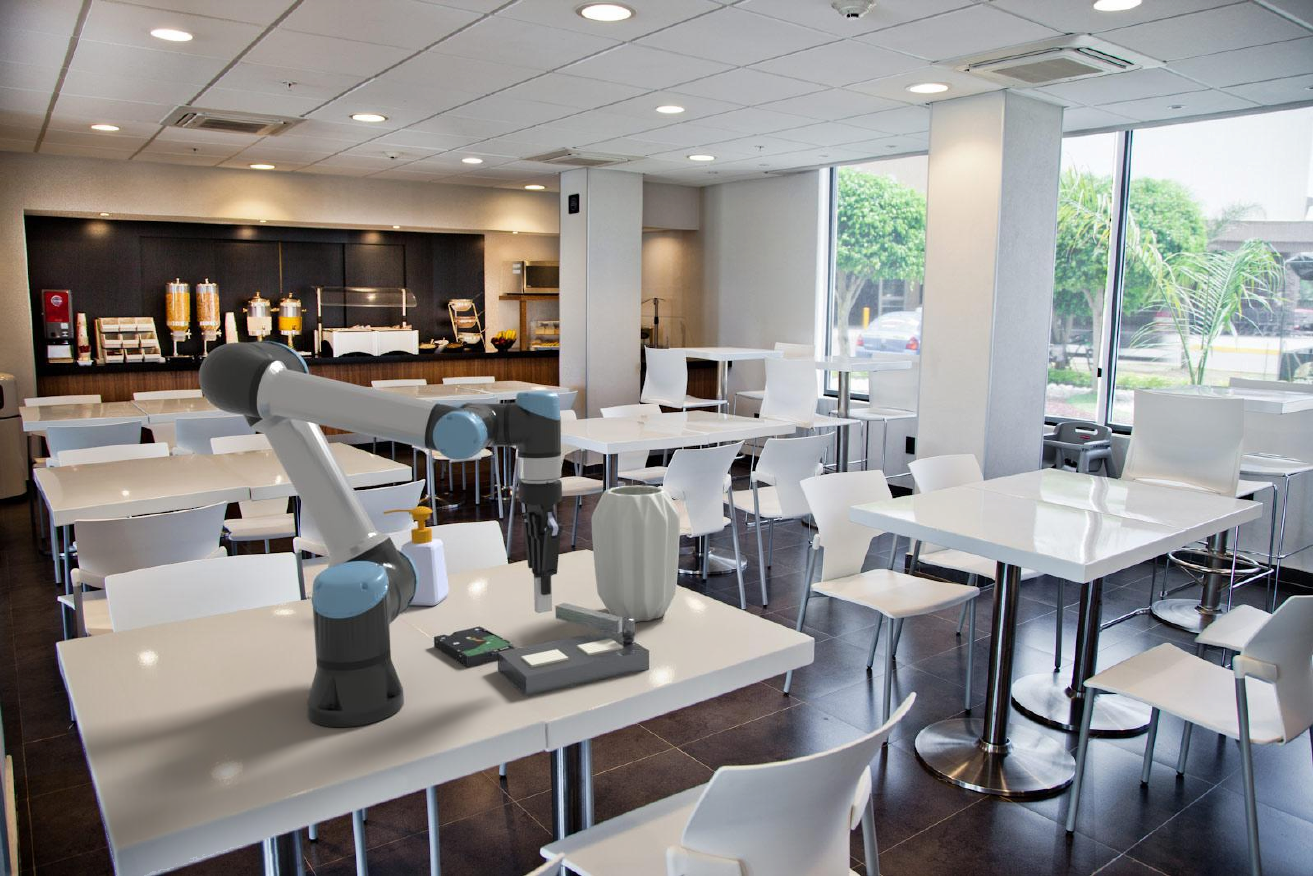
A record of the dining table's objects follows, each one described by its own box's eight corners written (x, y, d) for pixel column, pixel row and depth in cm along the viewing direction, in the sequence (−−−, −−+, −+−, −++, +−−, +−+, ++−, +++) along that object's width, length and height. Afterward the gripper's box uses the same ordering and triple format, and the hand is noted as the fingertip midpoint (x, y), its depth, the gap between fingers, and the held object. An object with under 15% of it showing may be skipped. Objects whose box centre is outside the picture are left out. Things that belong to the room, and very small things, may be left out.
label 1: (531, 667, 159) (531, 665, 159) (521, 658, 163) (521, 656, 163) (568, 659, 162) (568, 657, 162) (557, 651, 166) (557, 649, 166)
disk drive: (432, 650, 180) (468, 670, 168) (432, 636, 179) (467, 656, 168) (480, 638, 186) (517, 657, 175) (479, 625, 186) (516, 643, 174)
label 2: (588, 655, 164) (588, 653, 164) (577, 647, 168) (577, 645, 168) (623, 648, 168) (623, 646, 167) (610, 640, 172) (610, 638, 172)
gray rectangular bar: (637, 635, 171) (637, 618, 171) (629, 639, 169) (628, 621, 169) (564, 616, 183) (564, 600, 183) (555, 619, 181) (555, 603, 181)
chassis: (526, 696, 155) (525, 672, 154) (497, 670, 167) (497, 647, 166) (649, 669, 167) (649, 646, 166) (614, 646, 179) (613, 625, 178)
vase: (631, 634, 186) (629, 502, 183) (575, 613, 200) (572, 490, 197) (700, 614, 198) (699, 490, 195) (642, 595, 213) (641, 480, 210)
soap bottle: (395, 593, 217) (391, 502, 214) (451, 595, 215) (448, 503, 212) (378, 605, 207) (373, 510, 205) (436, 607, 205) (432, 511, 203)
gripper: (575, 482, 155) (578, 617, 158) (545, 473, 166) (548, 598, 169) (534, 487, 151) (538, 624, 154) (506, 476, 163) (510, 605, 165)
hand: (543, 610), depth 162 cm, fingers closed
